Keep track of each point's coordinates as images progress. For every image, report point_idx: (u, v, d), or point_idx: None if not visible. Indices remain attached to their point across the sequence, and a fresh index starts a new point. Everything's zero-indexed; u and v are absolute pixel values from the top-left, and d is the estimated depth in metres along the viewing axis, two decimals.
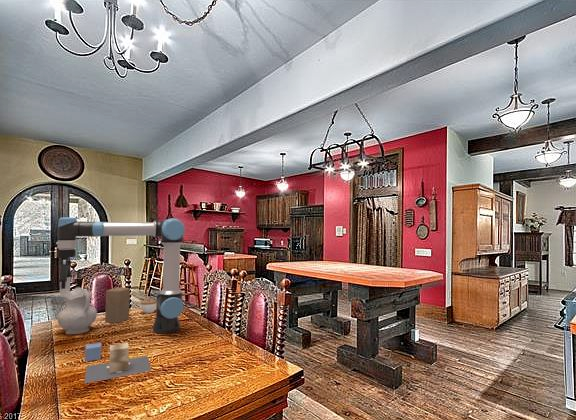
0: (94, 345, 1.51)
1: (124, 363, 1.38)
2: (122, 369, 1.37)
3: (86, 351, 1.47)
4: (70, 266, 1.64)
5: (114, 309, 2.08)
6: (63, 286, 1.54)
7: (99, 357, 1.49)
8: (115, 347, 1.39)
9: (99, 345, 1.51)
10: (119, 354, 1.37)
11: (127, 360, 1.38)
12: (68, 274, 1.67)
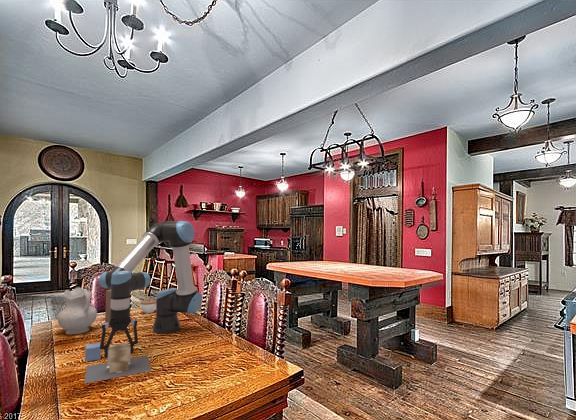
0: (94, 345, 1.51)
1: (124, 363, 1.38)
2: (122, 369, 1.37)
3: (86, 351, 1.47)
4: (124, 330, 1.40)
5: None
6: None
7: (99, 357, 1.49)
8: (115, 347, 1.39)
9: (99, 345, 1.51)
10: (119, 354, 1.37)
11: (127, 360, 1.38)
12: (129, 341, 1.42)
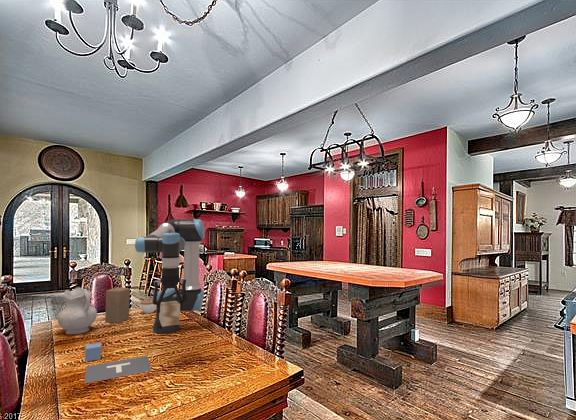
0: (94, 345, 1.51)
1: (175, 318, 1.46)
2: (173, 323, 1.46)
3: (86, 351, 1.47)
4: (174, 287, 1.48)
5: (114, 309, 2.08)
6: (157, 310, 1.46)
7: (99, 357, 1.49)
8: (166, 303, 1.47)
9: (99, 345, 1.51)
10: (170, 309, 1.45)
11: (178, 315, 1.47)
12: (178, 298, 1.50)
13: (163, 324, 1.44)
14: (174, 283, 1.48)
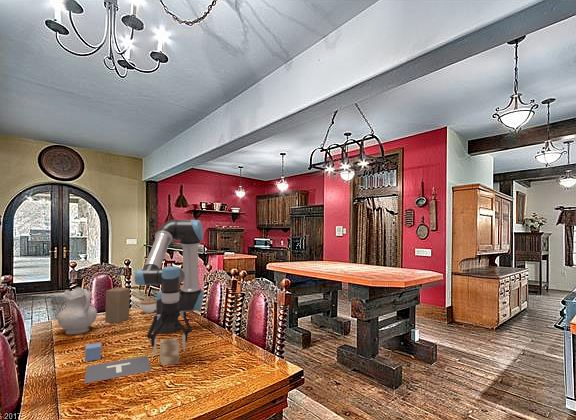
0: (94, 345, 1.51)
1: (175, 357, 1.45)
2: (173, 363, 1.45)
3: (86, 351, 1.47)
4: (176, 322, 1.48)
5: (114, 309, 2.08)
6: (151, 343, 1.44)
7: (99, 357, 1.49)
8: (166, 342, 1.46)
9: (99, 345, 1.51)
10: (170, 349, 1.45)
11: (178, 354, 1.46)
12: (183, 330, 1.50)
13: (163, 364, 1.43)
14: (174, 318, 1.48)
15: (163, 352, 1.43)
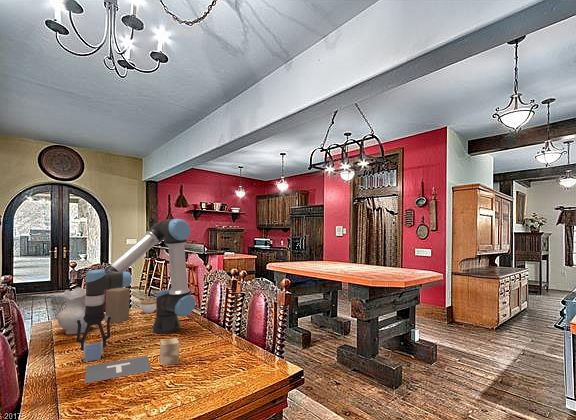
0: (94, 345, 1.51)
1: (175, 357, 1.45)
2: (173, 363, 1.45)
3: (86, 351, 1.47)
4: (97, 324, 1.51)
5: (114, 309, 2.08)
6: None
7: (99, 357, 1.49)
8: (166, 342, 1.46)
9: (99, 345, 1.51)
10: (170, 349, 1.45)
11: (178, 354, 1.46)
12: None
13: (163, 364, 1.43)
14: (97, 320, 1.51)
15: (163, 352, 1.43)
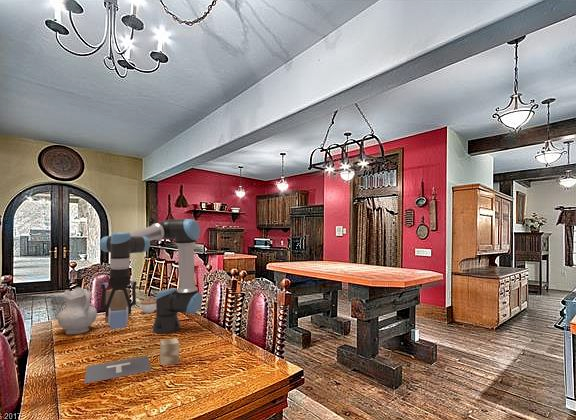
0: (119, 312, 1.41)
1: (175, 357, 1.45)
2: (173, 363, 1.45)
3: (111, 317, 1.37)
4: (123, 290, 1.41)
5: (114, 309, 2.08)
6: (105, 313, 1.39)
7: (124, 324, 1.40)
8: (166, 342, 1.46)
9: (124, 311, 1.42)
10: (170, 349, 1.45)
11: (178, 354, 1.46)
12: (127, 302, 1.43)
13: (163, 364, 1.43)
14: (123, 285, 1.41)
15: (163, 352, 1.43)
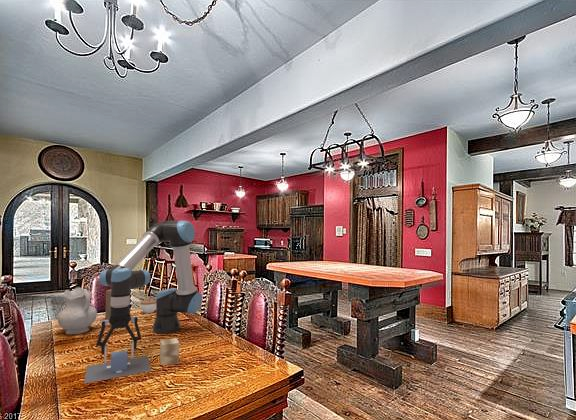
0: (119, 353, 1.40)
1: (175, 357, 1.45)
2: (173, 363, 1.45)
3: (112, 360, 1.36)
4: (125, 327, 1.40)
5: None
6: (101, 351, 1.37)
7: (126, 366, 1.38)
8: (166, 342, 1.46)
9: (125, 353, 1.40)
10: (170, 349, 1.45)
11: (178, 354, 1.46)
12: (131, 337, 1.42)
13: (163, 364, 1.43)
14: (124, 323, 1.40)
15: (163, 352, 1.43)
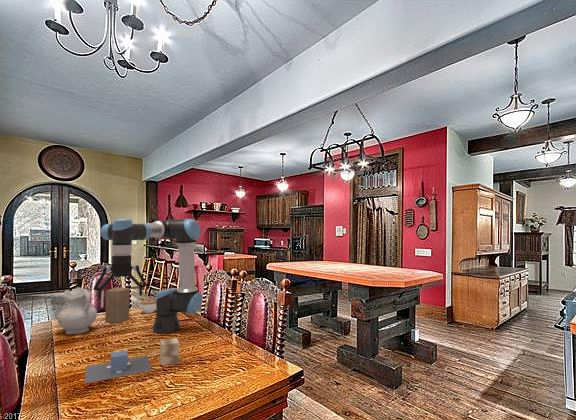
0: (119, 353, 1.40)
1: (175, 357, 1.45)
2: (173, 363, 1.45)
3: (112, 360, 1.36)
4: (128, 275, 1.42)
5: (114, 309, 2.08)
6: (98, 296, 1.37)
7: (126, 366, 1.38)
8: (166, 342, 1.46)
9: (125, 353, 1.40)
10: (170, 349, 1.45)
11: (178, 354, 1.46)
12: (137, 284, 1.44)
13: (163, 364, 1.43)
14: (126, 271, 1.41)
15: (163, 352, 1.43)
